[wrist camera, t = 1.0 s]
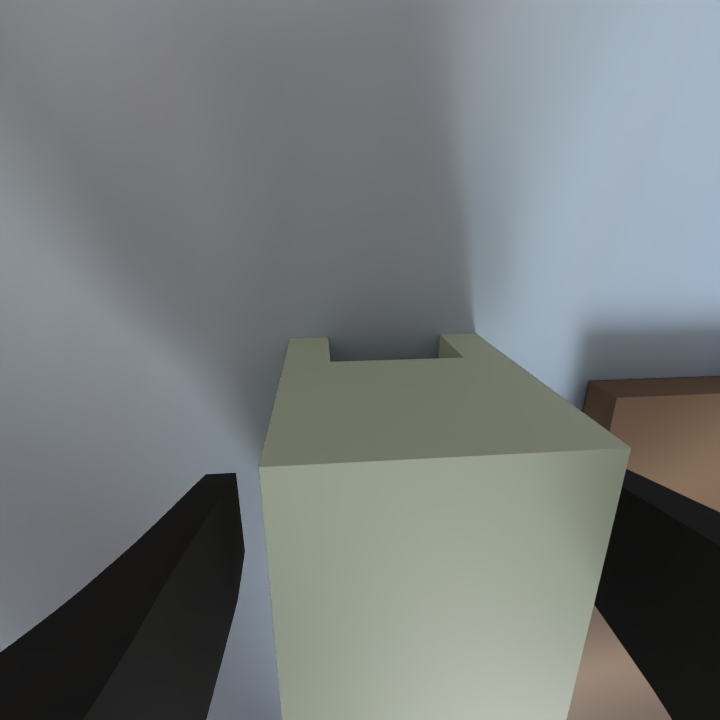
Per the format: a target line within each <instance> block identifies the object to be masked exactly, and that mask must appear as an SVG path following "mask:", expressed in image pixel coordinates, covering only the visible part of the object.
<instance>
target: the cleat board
mask: <svg viewBox="0 0 720 720" xmlns="http://www.w3.org/2000/svg"><path fill="white" fill-rule="evenodd" d="M583 413H585V414H586V415H587V416H589V417H590V418H591V419H593V420H594V421H595V422H597V423H598V424H599V425H601V426H602V427H604V428H605V429H606V430H608V431H609V432H610V433H612V434H613V435H614V436H616V437H617V438H618V439H620V440H621V441H623V442H624V443H625V444H627V445H628V446H629V447H631V451H630V455H629V459H628V463H627V468H626V469H628V470H630V471H632V472H635V473H637V474H639V475H641V476H643V477H645V478H647V479H650V480H652V481H654V482H656V483H658V484H660V485H662V486H665V487H667V488H669V489H671V490H673V491H675V492H677V493H679V494H682V495H684V496H686V497H688V498H690V499H692V500H694V501H697V502H699V503H701V504H703V505H705V506H707V507H710V508H712V509H714V510H716V511H718V512H720V376H709V377H682V378H654V379H627V380H600V381H589V384H588V389H587V394H586V400H585V405H584V410H583ZM567 720H672V719H671V717H670V716H669V714H668V712H667V711H666V709H665V708H664V706H663V705H662V703H661V701H660V700H659V698H658V697H657V695H656V694H655V692H654V691H653V689H652V688H651V686H650V684H649V683H648V682H647V680H646V679H645V677H644V676H643V674H642V673H641V671H640V670H639V669H638V667H637V666H636V664H635V663H634V661H633V660H632V658H631V657H630V656H629V654H628V653H627V651H626V650H625V648H624V647H623V645H622V644H621V643H620V641H619V640H618V638H617V637H616V635H615V634H614V632H613V631H612V630H611V628H610V627H609V625H608V624H607V622H606V621H605V619H604V618H603V617H602V615H601V614H600V612H599V611H598V609H597V608H596V606H595V605H594V606H593V611H592V615H591V619H590V623H589V627H588V632H587V636H586V640H585V644H584V648H583V653H582V657H581V661H580V665H579V669H578V674H577V678H576V682H575V686H574V690H573V695H572V699H571V703H570V707H569V711H568V716H567Z"/></svg>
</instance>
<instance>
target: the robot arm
mask: <svg viewBox="0 0 720 720" xmlns="http://www.w3.org/2000/svg"><path fill="white" fill-rule="evenodd" d="M244 553H245V549H244V540H243V532H242V523H241V514H240V505H239V497H238V488H237V479H236V473H225V474H206V475H205V476H204V477H203V478H202V479H201V480H200V481H199V482H197V483H196V484H195V485H194V486H193V487H192V488H191V489H190V490H189V491H188V492H187V493H186V494H185V495H184V496H183V497H182V498H181V499H180V500H179V501H178V502H177V503H176V504H175V505H174V506H173V507H172V508H171V509H170V510H169V511H168V512H167V513H166V514H165V515H164V516H163V517H162V518H161V519H160V520H159V521H158V522H157V523H156V524H155V525H154V526H152V527H151V528H150V529H149V530H148V531H147V532H146V533H145V534H144V535H143V536H142V537H141V538H140V539H139V540H138V541H137V542H136V543H135V544H133V545H132V546H131V547H130V548H129V549H128V550H127V551H125V552H124V553H123V554H122V555H121V556H120V557H119V558H117V559H116V560H115V561H114V562H113V563H112V564H111V565H109V566H108V567H107V568H106V569H105V570H104V571H103V572H101V573H100V574H99V575H98V576H97V577H96V578H95V579H93V580H92V581H91V582H90V583H89V584H88V585H87V586H85V587H84V588H83V589H82V590H81V591H79V592H78V593H77V594H76V595H75V596H73V597H72V598H71V599H70V600H68V601H67V602H66V603H65V604H63V605H62V606H61V607H60V608H58V609H57V610H56V611H55V612H53V613H52V614H51V615H49V616H48V617H47V618H46V619H44V620H43V621H42V622H40V623H39V624H38V625H36V626H35V627H34V628H32V629H31V630H30V631H28V632H27V633H26V634H24V635H23V636H22V637H20V638H19V639H18V640H17V641H15V642H14V643H13V644H11V645H10V646H8V647H7V648H6V649H4V650H3V651H2V652H0V720H206V718H207V714H208V711H209V707H210V703H211V699H212V696H213V692H214V688H215V684H216V680H217V677H218V673H219V669H220V665H221V662H222V658H223V654H224V650H225V647H226V643H227V639H228V635H229V631H230V628H231V624H232V620H233V616H234V612H235V608H236V604H237V600H238V594H239V587H240V581H241V574H242V567H243V560H244ZM594 605H595V606H596V608H597V609H598V611H599V612H600V614H601V615H602V617H603V618H604V619H605V621H606V622H607V624H608V625H609V627H610V628H611V630H612V631H613V632H614V634H615V635H616V637H617V638H618V640H619V641H620V643H621V644H622V645H623V647H624V648H625V650H626V651H627V653H628V654H629V656H630V657H631V658H632V660H633V661H634V663H635V664H636V666H637V667H638V669H639V670H640V671H641V673H642V674H643V676H644V677H645V679H646V680H647V682H648V683H649V684H650V686H651V688H652V689H653V691H654V692H655V694H656V695H657V697H658V698H659V700H660V701H661V703H662V705H663V706H664V708H665V709H666V711H667V712H668V714H669V716H670V717H671V719H672V720H720V512H718V511H716V510H714V509H712V508H710V507H707V506H705V505H703V504H701V503H699V502H697V501H694V500H692V499H690V498H688V497H686V496H684V495H682V494H679V493H677V492H675V491H673V490H671V489H669V488H667V487H665V486H662V485H660V484H658V483H656V482H654V481H652V480H650V479H647V478H645V477H643V476H641V475H639V474H637V473H635V472H632V471H630V470H628V469H626V472H625V476H624V480H623V484H622V489H621V493H620V497H619V501H618V505H617V510H616V514H615V518H614V522H613V526H612V531H611V535H610V539H609V543H608V547H607V552H606V556H605V560H604V564H603V568H602V573H601V577H600V581H599V585H598V589H597V594H596V598H595V602H594Z"/></svg>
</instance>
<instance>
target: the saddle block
mask: <svg viewBox="0 0 720 720" xmlns="http://www.w3.org/2000/svg"><path fill="white" fill-rule="evenodd" d="M630 451H631V447H629V446H628V445H627V444H625V443H624V442H623V441H621V440H620V439H618V438H617V437H616V436H614V435H613V434H612V433H610V432H609V431H608V430H606V429H605V428H604V427H602V426H601V425H599V424H598V423H597V422H595V421H594V420H593V419H591V418H590V417H589V416H587V415H586V414H585V413H583V412H582V411H580V410H579V409H578V408H576V407H575V406H574V405H572V404H571V403H570V402H568V401H567V400H565V399H564V398H563V397H561V396H560V395H559V394H557V393H556V392H555V391H553V390H552V389H551V388H549V387H548V386H546V385H545V384H544V383H542V382H541V381H540V380H538V379H537V378H536V377H534V376H533V375H532V374H530V373H529V372H527V371H526V370H525V369H523V368H522V367H521V366H519V365H518V364H517V363H515V362H514V361H513V360H511V359H510V358H508V357H507V356H506V355H504V354H503V353H502V352H500V351H499V350H498V349H496V348H495V347H493V346H492V345H491V344H489V343H488V342H487V341H485V340H484V339H483V338H481V337H480V336H479V335H477V334H476V333H473V334H440V338H439V354H438V358H435V359H403V360H371V361H338V362H330V352H329V339H328V337H317V338H290V341H289V345H288V349H287V353H286V357H285V361H284V365H283V369H282V374H281V378H280V382H279V386H278V390H277V394H276V398H275V402H274V406H273V410H272V415H271V419H270V423H269V427H268V431H267V435H266V439H265V443H264V447H263V452H262V456H261V460H260V464H259V476H260V487H261V498H262V509H263V520H264V531H265V541H266V552H267V563H268V574H269V585H270V596H271V607H272V618H273V629H274V640H275V650H276V661H277V672H278V683H279V694H280V705H281V716H282V720H567V716H568V711H569V707H570V703H571V699H572V695H573V690H574V686H575V682H576V678H577V674H578V669H579V665H580V661H581V657H582V653H583V648H584V644H585V640H586V636H587V632H588V627H589V623H590V619H591V615H592V611H593V606H594V602H595V598H596V594H597V589H598V585H599V581H600V577H601V573H602V568H603V564H604V560H605V556H606V552H607V547H608V543H609V539H610V535H611V531H612V526H613V522H614V518H615V514H616V510H617V505H618V501H619V497H620V493H621V489H622V484H623V480H624V476H625V472H626V468H627V463H628V459H629V455H630Z"/></svg>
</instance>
